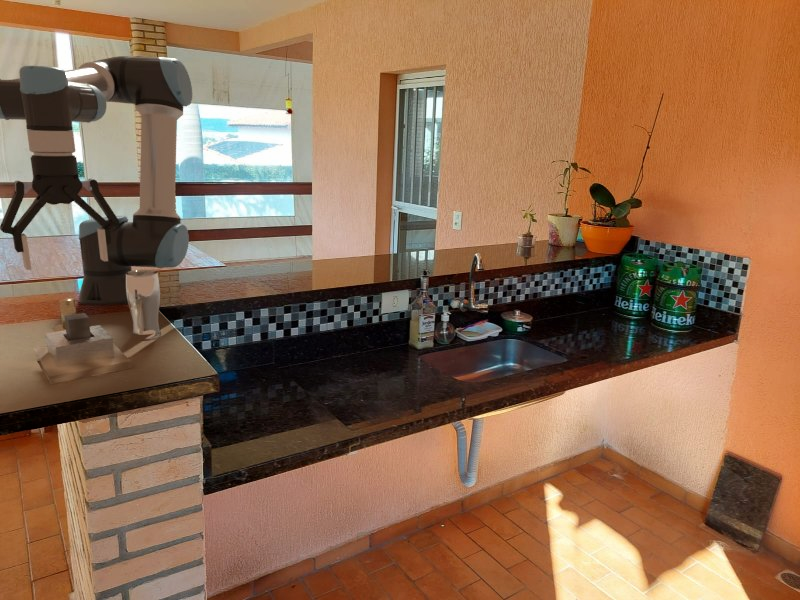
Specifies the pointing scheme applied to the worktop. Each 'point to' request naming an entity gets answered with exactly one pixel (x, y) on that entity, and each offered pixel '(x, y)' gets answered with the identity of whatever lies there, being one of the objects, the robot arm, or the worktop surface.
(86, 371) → the hub base
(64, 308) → the stand
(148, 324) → the beer glass
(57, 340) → the white square frame
